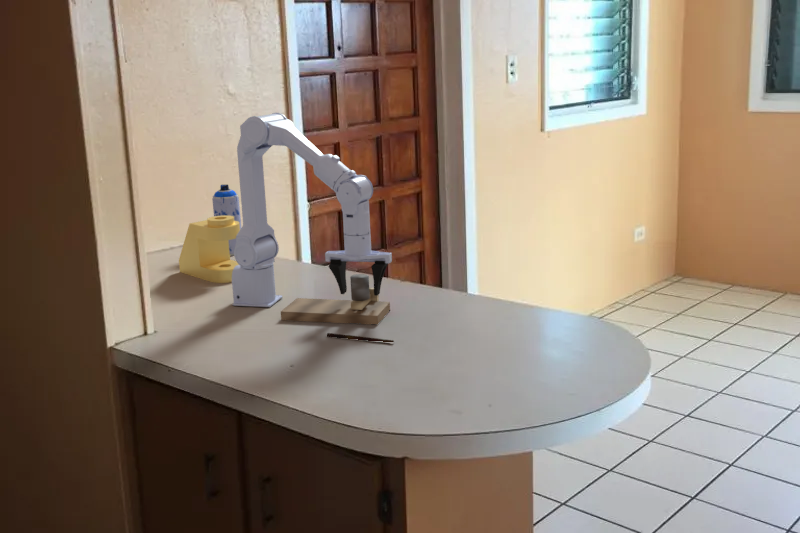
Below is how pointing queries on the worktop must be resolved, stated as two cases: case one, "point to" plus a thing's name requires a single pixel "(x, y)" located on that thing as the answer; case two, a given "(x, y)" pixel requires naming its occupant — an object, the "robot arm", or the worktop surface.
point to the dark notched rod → (356, 337)
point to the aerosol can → (227, 208)
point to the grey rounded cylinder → (361, 291)
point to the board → (334, 311)
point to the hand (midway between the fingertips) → (360, 293)
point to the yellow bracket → (209, 249)
